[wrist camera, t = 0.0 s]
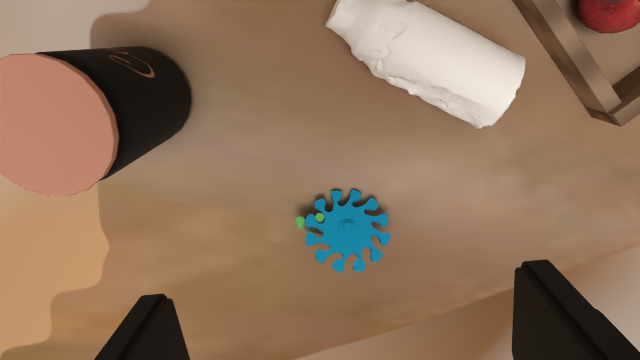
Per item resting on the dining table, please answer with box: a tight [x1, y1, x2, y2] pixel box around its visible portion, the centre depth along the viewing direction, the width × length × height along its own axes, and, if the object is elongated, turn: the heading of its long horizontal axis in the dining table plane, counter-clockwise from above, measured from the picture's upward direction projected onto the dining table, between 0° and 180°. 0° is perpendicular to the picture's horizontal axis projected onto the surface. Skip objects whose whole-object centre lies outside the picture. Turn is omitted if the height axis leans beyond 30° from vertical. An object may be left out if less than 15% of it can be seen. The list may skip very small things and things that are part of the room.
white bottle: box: [325, 0, 525, 129], centre depth 40 cm, size 8×19×8 cm, turn 64°
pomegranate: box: [578, 0, 640, 33], centre depth 38 cm, size 6×6×8 cm
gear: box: [296, 190, 391, 273], centre depth 49 cm, size 11×6×10 cm
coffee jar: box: [0, 47, 191, 196], centre depth 38 cm, size 11×11×18 cm
